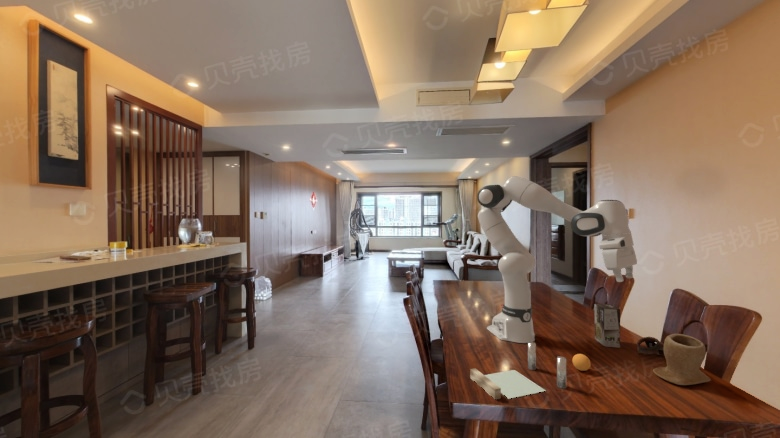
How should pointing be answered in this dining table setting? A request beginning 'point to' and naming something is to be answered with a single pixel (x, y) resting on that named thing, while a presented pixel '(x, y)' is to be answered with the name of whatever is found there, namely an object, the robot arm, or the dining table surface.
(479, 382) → the wall
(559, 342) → the dining table surface
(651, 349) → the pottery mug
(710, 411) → the dining table surface
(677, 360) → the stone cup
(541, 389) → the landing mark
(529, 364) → the post
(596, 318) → the coffee box
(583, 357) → the ball
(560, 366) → the post
